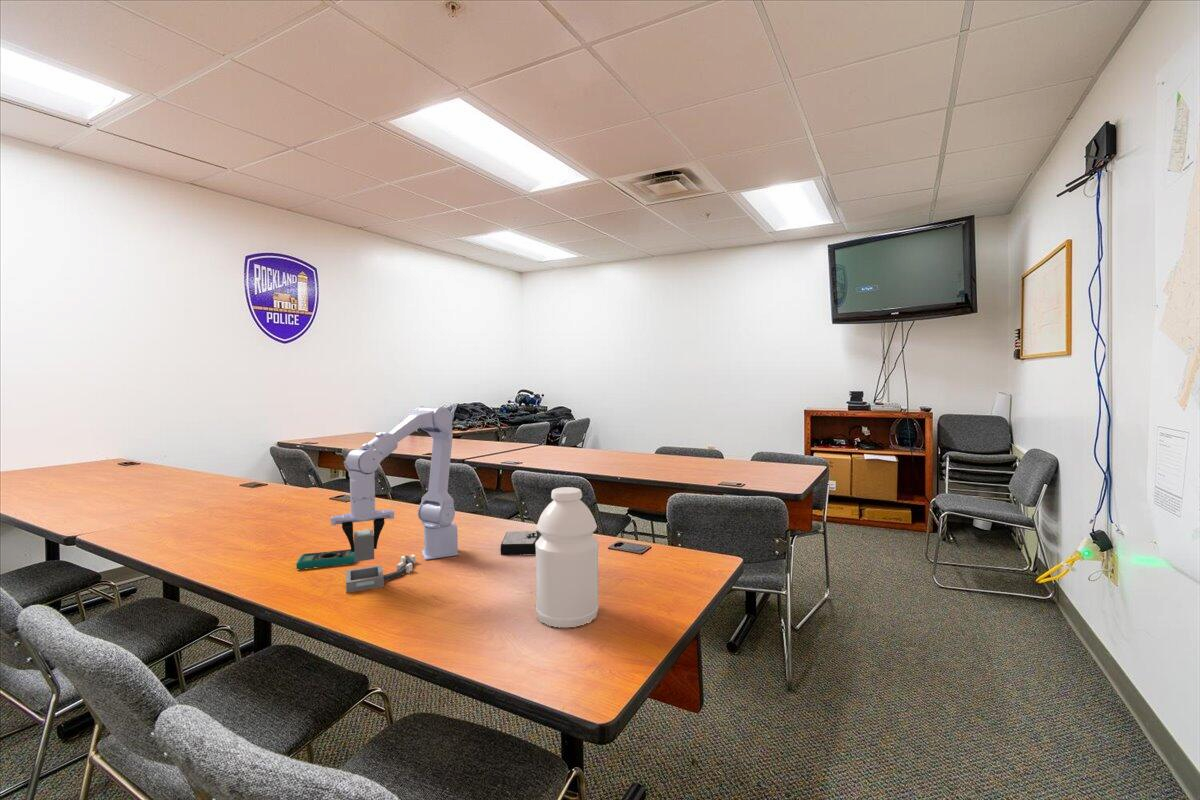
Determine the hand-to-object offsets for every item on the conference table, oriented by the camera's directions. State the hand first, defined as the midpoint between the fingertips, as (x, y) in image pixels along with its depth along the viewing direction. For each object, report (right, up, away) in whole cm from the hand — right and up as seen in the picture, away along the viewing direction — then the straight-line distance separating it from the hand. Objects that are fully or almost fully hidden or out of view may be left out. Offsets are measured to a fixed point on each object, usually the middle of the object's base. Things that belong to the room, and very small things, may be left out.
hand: (364, 549), depth 132 cm
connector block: (0, -2, 0) cm, 2 cm away
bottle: (+53, -10, -17) cm, 57 cm away
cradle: (0, -9, 0) cm, 9 cm away
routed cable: (+5, -8, +10) cm, 14 cm away
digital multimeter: (-17, -9, +15) cm, 25 cm away
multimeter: (+40, -8, +28) cm, 50 cm away
